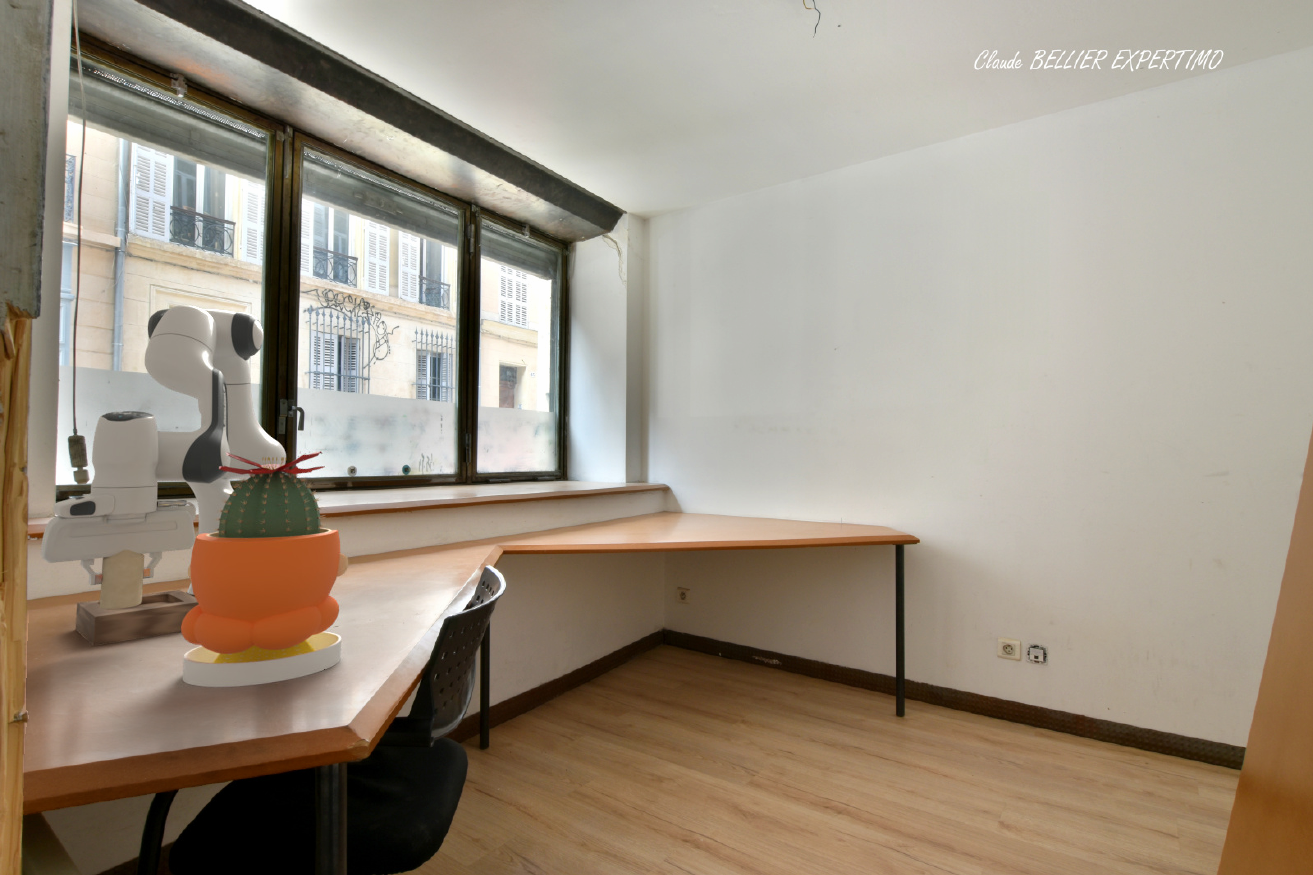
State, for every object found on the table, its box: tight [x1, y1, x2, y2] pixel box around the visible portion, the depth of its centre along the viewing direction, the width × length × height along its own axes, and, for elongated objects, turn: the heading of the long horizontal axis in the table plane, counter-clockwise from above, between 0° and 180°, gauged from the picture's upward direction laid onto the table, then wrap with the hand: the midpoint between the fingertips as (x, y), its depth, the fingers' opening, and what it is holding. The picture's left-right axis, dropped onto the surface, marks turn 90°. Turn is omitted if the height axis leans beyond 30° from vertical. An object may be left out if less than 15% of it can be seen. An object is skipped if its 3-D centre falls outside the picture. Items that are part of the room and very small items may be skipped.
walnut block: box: [75, 589, 199, 647], centre depth 117 cm, size 16×16×6 cm
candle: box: [99, 550, 145, 609], centre depth 105 cm, size 6×6×10 cm
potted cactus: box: [180, 451, 349, 688], centre depth 95 cm, size 22×22×35 cm
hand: (121, 580), depth 105 cm, fingers closed on candle, 5 cm apart
